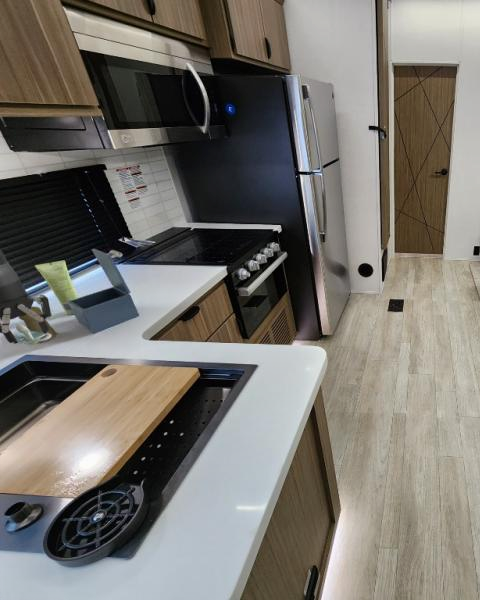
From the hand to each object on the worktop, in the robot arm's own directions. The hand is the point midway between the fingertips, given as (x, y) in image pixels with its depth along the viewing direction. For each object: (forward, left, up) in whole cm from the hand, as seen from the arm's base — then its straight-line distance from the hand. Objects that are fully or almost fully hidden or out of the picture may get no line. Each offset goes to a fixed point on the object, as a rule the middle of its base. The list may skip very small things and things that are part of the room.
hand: (30, 337), depth 91 cm
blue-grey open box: (+21, +14, -10) cm, 27 cm away
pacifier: (+1, 0, -2) cm, 2 cm away
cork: (+4, +19, -10) cm, 22 cm away
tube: (+17, +32, -10) cm, 38 cm away
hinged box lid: (+27, +14, +7) cm, 31 cm away
